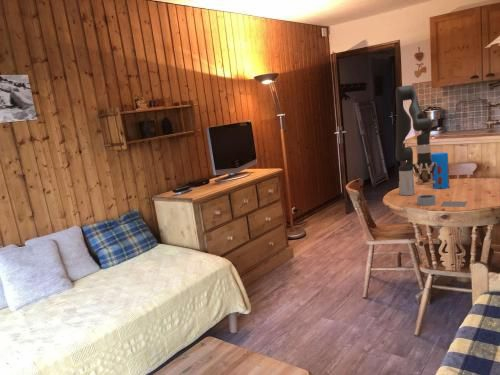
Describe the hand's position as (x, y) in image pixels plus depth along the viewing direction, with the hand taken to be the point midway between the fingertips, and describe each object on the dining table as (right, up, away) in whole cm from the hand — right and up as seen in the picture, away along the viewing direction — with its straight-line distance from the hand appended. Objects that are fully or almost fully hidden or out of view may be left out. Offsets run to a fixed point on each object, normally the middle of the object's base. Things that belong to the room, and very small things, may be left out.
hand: (425, 179), depth 235 cm
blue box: (+31, -5, +43) cm, 53 cm away
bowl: (+2, -15, +2) cm, 16 cm away
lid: (0, -2, 0) cm, 2 cm away
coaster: (+14, -15, -6) cm, 22 cm away
